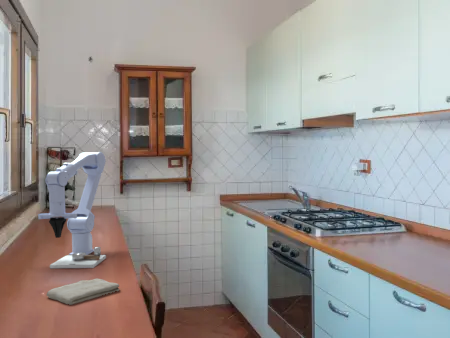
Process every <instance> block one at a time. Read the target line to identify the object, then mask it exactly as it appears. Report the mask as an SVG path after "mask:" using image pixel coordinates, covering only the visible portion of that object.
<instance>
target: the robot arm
mask: <svg viewBox="0 0 450 338" xmlns="http://www.w3.org/2000/svg"><path fill="white" fill-rule="evenodd" d="M106 162H107V159H106V156H105V154H104V153H103V152H102V151H98V152H97V151H94V152H93V151H92V152H91V151H90V152H81V153H79V154H78V157H76V159H74V160H73V161H72V162H64V163H63V164H62V165H61V166H60V167H57V168H56V170H54V171H49V172H48V173H47V174H46V176H45V180H44V181H45V184H46V186H47V187H46V188H47V190H48V197H49V198H48V199H49V203H48V204H49V212H48V213H47V212H46V213H45V212H44V213H38V214H37V216H38V217H37V219H38V220H44V219H45V220H46V219H47V220H48V219H49V220H48V223H49V225H50V226H51V228H52V229H53V233H54V237H55V238H57V239H58V238H61V237H62V232H63V229H64V227H65V224H66V226H67V230H69V233H71V246H72V247H71V249H72V250H71V251H72V252H69V254H68V255H72V254H73V253H77V252H85V253H86V255H91V253H94V248H93V235H92V231H93V229H94V228H95V217H96V216H95V214H94V213H93V212H92V208H93V205H94V201H95V197H96V194H97V192H98V188H99V184H100V180H101V178H102V174H103V172H104V169H105V166H106ZM81 168H82V170H83V172H84V173H85V174H87V178H86V180H85V184H84V187H83V190H82V194H81V197H80V201H79V204H78V207H77V209H75V210H73V211H72V212H66V192H65V189H66V188H65V186H67V185H68V181H69V180H70V179H71V178H73V177H74V176H75V175H77V171H78V170H79V169H81Z"/></svg>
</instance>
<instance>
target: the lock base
mask: <svg viewBox="0 0 450 338" xmlns="http://www.w3.org/2000/svg"><path fill="white" fill-rule="evenodd" d="M105 259H107V254H101V255H100V258H99V259H83V260H72V255H69V254H68V255H64V256H63V257H61V258H59V259H58V260H56V261H55V262H52V263H51V264H49V268H50V269H94V268H95V267H96V266H98V265H99V264H101V263H102V262H103V261H104V260H105Z"/></svg>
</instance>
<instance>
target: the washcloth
mask: <svg viewBox="0 0 450 338" xmlns="http://www.w3.org/2000/svg"><path fill="white" fill-rule="evenodd" d="M119 290H120V285H119V283H116V282H109V281H107V280H105V279H102V278H94V279H88V280H86V279H85V280H82V279H81V280H79V281H77V282H73V283H67V284H65V285H62V286H59V287H58V286H57V287H54V288H51V289H50V290H48V291H47V293H46V297H48V298H49V299H51V300H54V301H59V302H60V303H63V304H66V305H68V304H69V305H68V306H70V305H72V306H73V305H75V304H78V303H79V304H80V303H83V302H85V301H89V300H93V299H95V298H96V299H97V298H98V297H103V296H105V294H106V295H109V294H108V293H110V294H113V293H116V292H115V291H117V292H119ZM120 291H121V290H120ZM112 292H113V293H112ZM102 295H103V296H102Z"/></svg>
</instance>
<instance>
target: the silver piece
mask: <svg viewBox="0 0 450 338" xmlns="http://www.w3.org/2000/svg"><path fill="white" fill-rule="evenodd" d="M93 249H94V251H93V254H88V255H86V253H85V252H77V253H73V254H72V260H83V259H99V258H100V255H102V253H101V252H102V251H101V246H95V247H93Z"/></svg>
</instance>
